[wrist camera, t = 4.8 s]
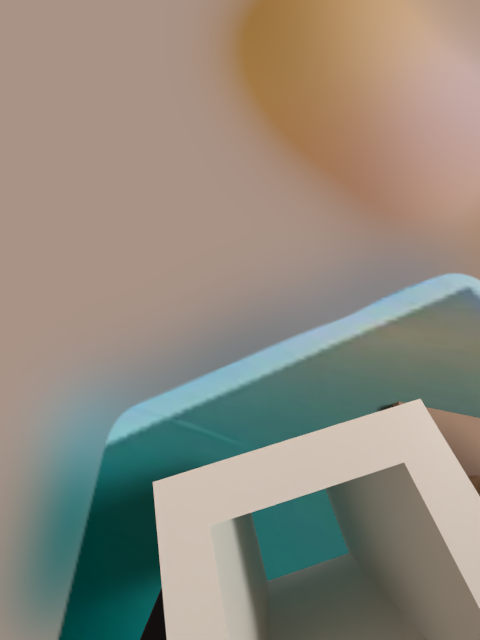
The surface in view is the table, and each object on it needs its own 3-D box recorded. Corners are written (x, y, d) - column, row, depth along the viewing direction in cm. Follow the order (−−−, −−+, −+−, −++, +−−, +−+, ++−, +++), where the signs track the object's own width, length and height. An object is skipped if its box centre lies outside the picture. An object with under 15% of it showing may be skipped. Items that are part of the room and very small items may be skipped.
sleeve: (380, 574, 12) (753, 945, 3) (252, 619, 11) (216, 1206, 2) (324, 434, 14) (420, 398, 6) (221, 466, 14) (152, 482, 5)
